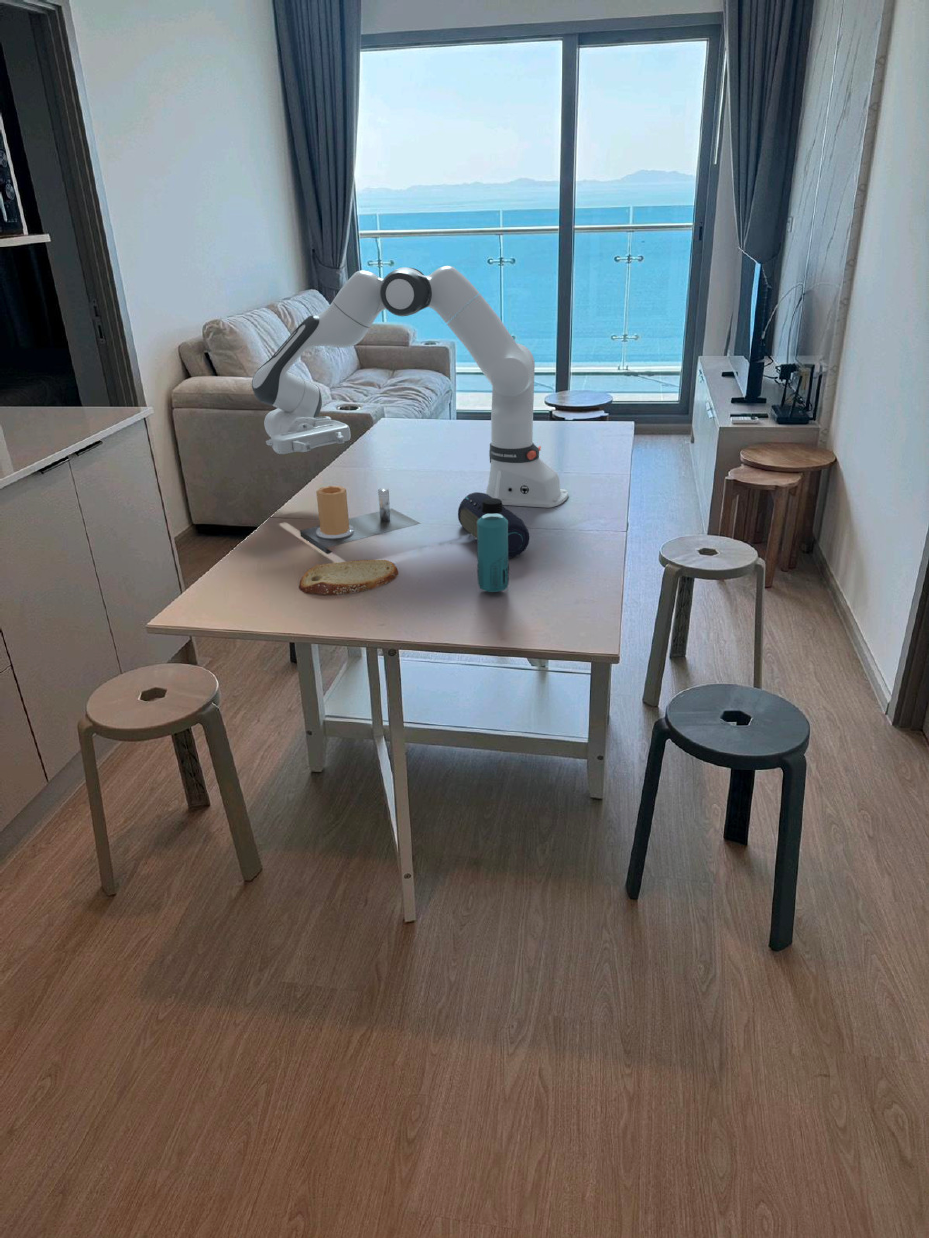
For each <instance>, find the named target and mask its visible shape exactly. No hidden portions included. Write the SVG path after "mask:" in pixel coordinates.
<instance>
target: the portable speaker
mask: <svg viewBox="0 0 929 1238" xmlns="http://www.w3.org/2000/svg"><path fill="white" fill-rule="evenodd" d="M488 498H492V497H491V496H489V495H487V494H486V492H485V493H484V492H472V493H469V494H468V495H466V496H465V497H463V499H462V500H461V502H460V503H459V506H458V509H457V517H458V521H459V522H458V523H460V525H461V526H462V527H463V528H464V529H465V530H466V532H468V533H469V534H470V535H471V536H472V537H473V538H475V539H476V540H477V541H478V537H477V521H478V520H479V519H480V518H481V517H482V516H483V515H485V514H488V513H484V512H482V502H483V500H485V499H488ZM502 507H503V511H502V512H500V513H496V514H500V515H502V516H504V517H505V518H506V519H507V520H508V539H509V540H508V547H509V548H508V554H509V555H508V559H511V558H515V557H517V556H519V555H521V554H522V553H523V552H525V551H526V549H527V548H528V546H529V543H530V542H529V541H530V532H529V529H528V527H527V526H526V524H525V522H524V521H523V520H522V519H521V518H520V517H519V516H517V514H514V513H513V511H511V510H509V509H508V508H507V507H506V506H505V505H502Z"/></svg>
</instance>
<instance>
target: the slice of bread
mask: <svg viewBox="0 0 929 1238" xmlns="http://www.w3.org/2000/svg"><path fill="white" fill-rule="evenodd" d="M397 575H399V570H398V568H397V566H396V565H395V564H394V562H392V561H389V560H387V559H369V560H368V559H362V560H361V559H360V560H349V561H341V562H333V563H322V564H319V563H318V564H316V565H315V566H313V567H311V568H310V569H307V571H306V572H305V573H304V574H303V575H302V577H301V579H300V581H299V584H298V589H299V590H300V591H301V592H303V593H304V594H309V595H310V594H311V595H312V594H313V595H321V596H342V595H349V594H350V595H351V594H355V593H361V592H364V591H366V590H367V591H368V590H373V589H376V588H379V587H382V586H384V585H387V584H389V583H390V582H392V581H393V580H395V579H397V577H398V576H397Z"/></svg>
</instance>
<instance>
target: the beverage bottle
mask: <svg viewBox="0 0 929 1238" xmlns="http://www.w3.org/2000/svg"><path fill="white" fill-rule="evenodd" d="M502 511H503V507H502V501H501V500H500V499H497V498H488V499H485V500H483V502H482V512H484V513H488V514H485V515H483V516H482V517H481V518H480V519H479V520H478V521H477V537H478V540H477V555H476V556H477V557H476V558H477V566H476V567H477V569H476V571H477V584H478V587H479V589H481V590H483V591H485V592H489V593H491V592H492V593H496V592H501V591H504V590H506V589H508V586H509V582H510V578H509V574H510V573H509V572H510V565H509V563H510V560H509V558H508V555H509V554H508V548H509V547H508V540H509V539H508V520H507V519H506V518H505V517H504V516H502V515H500V514H496V513H500V512H502Z"/></svg>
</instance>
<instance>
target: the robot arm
mask: <svg viewBox="0 0 929 1238" xmlns="http://www.w3.org/2000/svg"><path fill="white" fill-rule="evenodd" d="M426 308H430V309H432V310H433V311H434V312H436V313H437V314H438V315H439V317H440V318H441V319H442V320H443V321H444V322H445V323H446V325H447V326H448V328H449V329H450V330H451V331H452V332H453V333H454V335H455V337H457V339H458V340H459V341H460V342H461V343H462V345H463V346H464V347H465V349H466V350H467V351H468V353H469V354H470V356H471V357H472V359H473V360H474V362H475V363H476V365H477V366H478V368H479V370H480V371H481V372H482V374H483V375H484V376H485V378H486V379H487V380H488V382H489V383H490V384H491V388H492V392H491V409H490V410H491V411H490V412H491V414H490V415H491V416H490V417H491V419H490V422H491V423H490V425H491V427H490V429H491V430H490V436H491V439H490V440H491V441H490V444H489V453H488V455H489V464H490V468H489V469H490V470H489V478H488V484H487V488H486V491H485V494H487V495H489V496H491V497H492V498H497V499H500V500H501V501H502V505H503V506H515V507H517V506H519V507H533V508H547V509H549V508H554V507H556V506H559V505H561V504H562V503H564V502H565V501H566V500H567V499H568V498H569V492H568V490H567V489H564V488H561V484H560V477H559V474H558V472H557V471H556V470H554V469H553V468H552V467H550V466H549V465H548V464H547V463H546V462H544V460H542V459H541V458H540V451H542V449H541V448H542V446H541V445H539V446H537V445H536V444H535V443H534V442H533V441H534V439H533V435H534V434H533V433H534V432H533V429H534V398H535V371H536V370H535V367H536V365H535V358H534V355H533V353H532V352H531V350H530V349H529V348H528V347H526V346H525V345H524V344H521V343H517V342H516V341H515V338H513V337H512V335H511V334H510V332H509V330H508V328H507V327H506V326H505V325H504V323H503V321H502V319H501V318H500V317H499V316H498V314H497V313H496V311H495V310H494V309H493V308H492V306H490V304H489V303H488V301H486V299H485V298H484V297H483V295H482V293H480V292H479V291H478V289H477V288H476V287H475V286H474V285H473V284H472V282H470V280H469V279H468V278H467V277H465V276H464V275H463V273H461V272H460V271H459V270H458V269H456V268H455V267H454V266H452V265H444V266H441V267H439V268H436V270H434V271H433V272H432V273H430V274H428V275H425V274H424V273H423V272H422V271H420V270H419V269H417V268H414V267H407V266H406V267H399V268H396V269H393V270H392V271H391V272H389V273H388V274H386V276H385V277H384V278H383V277H379V276H378V275H376V274H375V273H373V272H371V271H369V270H364V269H362V270H358V271H356V272H354V273H353V274H352V275H351V277H350V278H348V280H347V281H346V282H344V284H343V285H342V287H341V288H340V289H339V290H338V293H337V294H336V296H335V297H334V299H333V300H332V302H331V303H330V305H329V306H328V307H327V308H325V309H324V310H323V311H321V312H320V313H317V314H316V315H312V314H311V315H309V316H307V317H305V319H304V320H303V321H302V322H301V323H300V324H298V326H297V327H296V328H295V329H294V330H293V331H292V333H291V334H290V335H289V337H288V338H286V340H284V342H283V343H282V344H281V346H280V347H279V348H278V350H276V351H275V352H274V354H273V355H272V356H271V357H270V358H269V359H268V360H266V362H265V363H263V364H262V365H261V366H260V367H259V368H258V369H257V370H256V372H255V373H254V375H253V378H252V380H251V388H252V391H253V393H254V396H255V398H256V400H257V401H258V402H259V403H263V404H266V405H269V406H273V407H275V408H276V409H274V410H271V411H269V412H268V413H267V414H266V415H265V417H264V421H263V423H264V429H265V432H266V434H267V435H268V437H270V438H269V439H267V440H265V444H266V445H267V446H270V447H272V450H273V451H274V452H275V453H276V454H279V455H286V454H290V453H296V452H299V453H305V452H309V451H311V450H312V449H314V448H318V447H324V446H328V445H332V444H338V445H340V444H345V442H346V441H350V439H351V429H350V426H349V425H348V424H346V423H344V422H341V421H339V420H335V419H332V417H330V416H328V415H326V416H319V414H320V412H321V410H322V406H323V399H322V398H323V397H322V393H321V390H320V389H319V386H317V385H316V384H314V383H313V382H310V381H308V380H306V379H304V378H302V377H299V376H297V375H295V374H293V373H291V372H289V370H290V369H291V368H292V366H293V365H294V364H295V363H296V362H297V360H299V358H301V356H302V354H303V353H304V352H305V351H307V350H308V349H311V348H313V347H314V348H315V347H330V348H331V347H333V348H337V349H339V348H340V349H342V348H344V349H345V348H351V347H353V346H356V345H357V344H359V343H360V342H361V341H362V340H363V338H365V337H366V334H367V333H368V331H369V329H370V328H371V326H372V325H373V324H374V322H375V320H376V319H377V317H378V316H379V315H380V313H381V312H382V311H385V310H387V311H388V312H389V313H390V314H393V316H394V315H395V316H396V317H397V316H398V317H409V316H411V315H415V314H418V313H419V312H420V311H421V310H425V309H426ZM303 355H304V354H303Z"/></svg>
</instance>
